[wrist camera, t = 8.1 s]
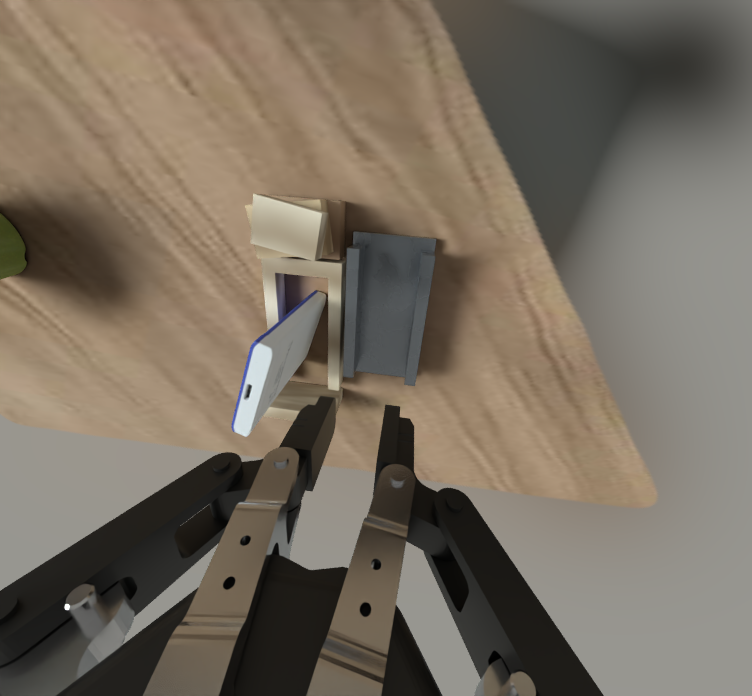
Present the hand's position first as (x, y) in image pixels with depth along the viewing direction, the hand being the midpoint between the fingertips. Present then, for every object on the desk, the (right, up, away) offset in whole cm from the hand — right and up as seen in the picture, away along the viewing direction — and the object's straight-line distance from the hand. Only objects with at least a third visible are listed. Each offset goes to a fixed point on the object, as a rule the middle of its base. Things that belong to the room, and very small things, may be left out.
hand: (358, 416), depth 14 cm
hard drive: (-6, +6, +17) cm, 19 cm away
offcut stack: (-5, +14, +12) cm, 20 cm away
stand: (+2, +7, +15) cm, 16 cm away
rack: (-6, +5, +17) cm, 19 cm away
